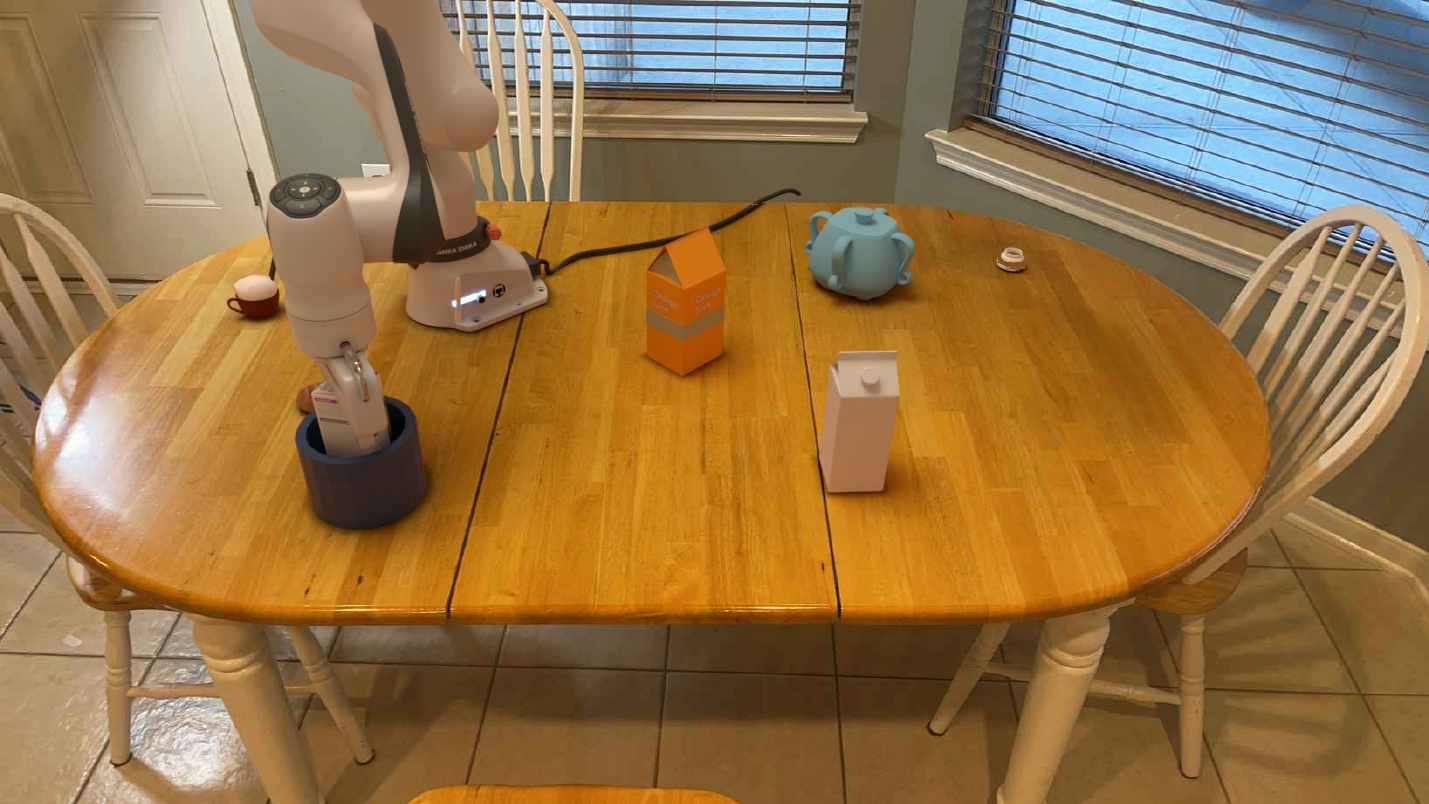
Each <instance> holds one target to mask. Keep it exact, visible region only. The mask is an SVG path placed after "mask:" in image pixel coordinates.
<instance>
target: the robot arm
mask: <svg viewBox="0 0 1429 804" xmlns="http://www.w3.org/2000/svg"><path fill="white" fill-rule="evenodd" d="M249 4H250V8H251V13H252V17H253V20H254V22H255V25H256V27H257V29H258V30H259V32H260V33H261V34H262V36H263V37H264V38H265V39H266V41H268V43H269V44H271V45H272V46H273V47H274V48H275V49H277V50H278V51H279V52H281V53H283V54H284V55H286V56H287V57H288V58H291V59H293V60H295V61H297V62H299V63H301V64H304V65H306V66H307V65H308V66H310V67H312V68H316V69H319V70H321V71H325V72H327V73H330V74H333V75H336V76H339V77H342V78H344V79H347V80H349V81H351V90H352V94H353V96H354V99H355V101H356V102H357V104H358V105H359V106H360V108H361V109H362V110H363V112H364V113H365V115H366V116H367V117H368V119H369V121H370V122H371V124H372V126H373V129H374V131H375V133H376V135H377V139H378V140H379V142H380V145H381V147H382V149H383V151H384V154H385V156H386V159H387V163H388V164H389V166H390V169H391V171H390V172H389V173H388V174H386V175H380V176H355V177H338V176H336V177H335V176H334V177H331V176H330V175H326V174H322V173H315V172H307V173H306V172H305V173H299V174H294V175H291V176H288V177H286V178H284V179H282V180H280V181H278V182H277V183H275V185H274V186H273V187H271V188H270V190H269V192H268V195H267V202H266V206H267V207H266V208H267V210H266V219H265V222H266V223H265V224H266V226H265V227H266V233H267V237H268V240H269V245H270V249H271V254H272V257H273V259H274V263H275V267H276V275H277V276H278V278H279V279H280V281H281V282H282V284H283V287H284V308H285V311H286V315H287V316H286V317H287V321H288V325H289V329H290V332H291V337H292V341H293V345H294V346H295V348H296V349H297V350H298V352H300V353H303V354H305V355H307V356H309V357H310V358H311V359H312V360H313V362H314V364H315V366H316V367H317V369H318V371H319V373H320V375H321V377H322V379H323V380H324V379H325V380H326V381H327V383H328V384H329V386H330V388H331V389H332V391H333V393H334V396H335V399H336V402H337V404H338V406H339V407H340V409H341V411H342V413H343V415H344V416H345V418H346V420H347V422H348V424H349V426H350V427H351V429H352V431H353V433H354V435H355V437H356V442H357V443H358V445H359V447H360V448H361V449H366V448H369V447H372V446H374V445H375V439H374V434H376V433H379V432H382V431H384V430H386V428H387V424H388V422H387V416H386V412H385V407H384V403H383V399H382V395H381V391H380V387H379V383H378V380H377V377H376V375H375V372H376V371H375V370H374V368H373V367H372V365H371V363H370V362H369V359H368V358H367V356H366V355H365V353H366V352H367V350H368V348H369V345H370V344H372V342H373V341H374V340H375V339H376V337H377V334H378V328H377V323H376V317H375V312H374V307H373V300H372V296H371V291H370V287H369V286H368V284H367V283H366V281H365V279H364V265H365V264H382V263H393V264H405V265H407V271H408V272H407V273H408V274H407V275H408V281H407V282H408V283H407V297H406V302H405V312H406V314H407V315H408V317H410V318H411V319H412V320H414V321H415V322H417V323H419V324H422V325H426V326H429V327H435V328H449V329H456V330H459V331H464V332H468V333H471V332H476V331H479V330H480V329H484V328H486V327H488V326H491V325H493V324H496V323H499V322H501V321H503V320H506V319H508V318H512V317H513V316H516V315H519V314H521V313H523V312H524V313H525V312H527V311H529V310H532V309H534V308H537V307H538V306H541V305H544V304H546V303H547V302H548V299H549V292H548V287H547V285H546V284H545V282H544V281H543V279H542V278H540V276H541V275H542V265H544V267H543V272H544V273H545V274H546V275H549V276H551V275H553V274H555V273H557V272H558V271H559V270H561V269H563V268H565V267H566V266H567V265H569V264H570V263H571V262H573V261H575V260H577V259H580V258H584V257H588V256H594V255H599V254H609V253H616V252H622V251H629V250H635V249H642V248H647V247H652V246H658V245H662V244H668V243H670V242H673V241H675V240H677V239H679V238H682V237H684V236H686V235H689V234H691V233H693V232H695V231H698V230H700V229H701V228H699V229H696V230H692V231H689V232H686V233H682V234H679V235H674V236H670V237H669V236H668V237H664V238H659V239H655V240H654V239H653V240H648V241H644V242H638V243H637V242H636V243H631V244H623V245H617V246H610V247H604V248H603V247H602V248H595V249H588V250H583V251H579V252H576V253H573V254H571V255H569V256H568V257H567V258H565V260H563V261H562V262H561V263H560V264H559V265H558V266H556V267H555V268H553V269H551V268H550V266H551V264H550V261H549V260H547V259H545V258H536V257H534V256H533V255H531V254H530V253H528V251H526V250H522V251H520V252H519V251H518V250H517V249H516V248H515V247H513V246H512V245H511V244H508V243H506V242H504V241H501V238H502V236H503V232H502V230H501V228H499V227H498V226H497V225H495V224H493V223H492V224H491V223H490V221H489V220H488V219H487V218H485V217H483V216H482V215H481V214H479V213H478V211H477V201H476V193H475V184H474V177H473V175H472V171H471V169H470V167H469V165H468V164H467V162H466V161H465V160H464V159H463V158H462V156H461V154H460V153H474V152H477V151H480V150H481V149H483V148H484V147H486V146H487V145H488V144H489V143H490V142H491V140H492V139H493V138H494V136H495V134H496V131H497V128H498V126H499V121H500V108H499V103H498V101H497V98H496V96H495V94H494V93H493V91H492V90H491V89H489V87H488V86H487V85H486V84H485V83H484V82H483V81H482V80H481V79H480V77H479V76H478V74H477V73H476V72H475V70H474V69H473V68H472V66H471V65H470V62H468V60H467V57H466V56H465V54H464V52H463V51H462V49H461V47H460V46H459V44H458V42H457V40H456V38H455V37H454V35H453V33H452V30H451V29H450V27H449V26H448V23H447V22H446V19H445V18H444V15H443V13H442V10H441V8H440V6H439V5H440V4H439V3H438V0H249ZM785 194H794V195H796V196H798V197H800V196H802V192H801V191H799V190H798V189H796V188H792V187H791V188H790V187H789V188H783V189H780V190H777V191H775V192H773V193H771V194H769V195H766V196H762V197H760V198H759V199H757V200H756V201H754V202H752V204H759V205H761V204H763V203H765V202H767V201H770V200H772V199H774V198H777V197H779V196H782V195H785ZM759 205H753V206H752V205H751V204H749V205H748V206H747V207H745V208H743V209H742V210H740V211H737V212H736V213H735V214H733V215H732V214H731V215H730V216H729V217H727V218H724V219H722V220H720V221H718V222H715V223H713V224H710V225H707V226H708V228H709V230H710V232H711V231H713V230H715V229H718V228H721V227H723V226H725V225H727V224H729V223H731V222H733V221H735V220H736V219H739V218H740V217H742V216H744V215H746V214H747V213H749V212H751V211H752V210H754V209H756V207H758V206H759ZM749 207H750V208H749Z"/></svg>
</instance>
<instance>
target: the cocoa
mask: <svg viewBox="0 0 1429 804" xmlns="http://www.w3.org/2000/svg"><path fill="white" fill-rule="evenodd" d="M268 272H269V273H268V275H260V274H251V275H248V276H246V277H243V278H241V279H239V280H237V281H235V282H234V284H233V289H234V292H235V294H234V296H235V297H230V298H228V299H227V301H226V305H227V307H228V308H229V309H230V310H231V311H233V312H235V313H238V314H242V315H246V316H249V317H251V318H256V319H261V318H267V317H269V316H271V315H272V314H274V313H275V312H276V311H277V310H278V308H279V304H280V289H279V288H278V287H279V282H278V281H277V279H276V273H277V271H276V267H275V263H274V259H273V256H272V257H271V262H270V267H269V270H268ZM231 302H237V305H238V307H239V308H240V309H238V308H235V307H233V306H232V305H231Z"/></svg>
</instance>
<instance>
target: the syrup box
mask: <svg viewBox="0 0 1429 804" xmlns="http://www.w3.org/2000/svg"><path fill="white" fill-rule="evenodd" d="M374 372H375V375H376V377H377V380H378V383H379V387H380V391H381V395H382V399H383V403H384V407H385V412H386V416H387V422H388V424H387V428H386V430H384V431H382V432H379V433H376V434H374V439H375V445H374V446H372V447H369V448H366V449H361V448H360V447H359V445H358V443H357V442H356V437H355V435H354V433H353V431H352V429H351V427H350V426H349V424H348V422H347V420H346V418H345V416H344V415H343V413H342V411H341V409H340V407H339V406H338V404H337V402H336V399H335V396H334V393H333V391H332V389H331V388H330V386H329V384H328V383H327V381H326V380H325V379H324V378H323V379H322V380H321V381H322V382H321V381H320V382H321V383H320V384H319V385H318V387H317V388H316V389H315V390H314V391H313V392H312V393H311V396H312V400H313V404H314V407H315V411H316V415H317V419H318V423H319V427H320V430H321V434H322V438H323V442H324V445H325V449H326V453H327V456H331V457H342V458H349V457H357V456H364V455H367V454H370V453H373V452H377V451H379V450H381V449H383V448H385V447H387V446H389V445H390V444H392V443H393V442H394V440H393V435H392V430H391V426H390V421H389V416H388V412H387V407H386V402H385V398H384V396H385V394H384V389H383V388H384V387H383V384H382V379H381V375H380V373H379V372H378V371H374Z"/></svg>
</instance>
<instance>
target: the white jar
mask: <svg viewBox="0 0 1429 804" xmlns="http://www.w3.org/2000/svg"><path fill="white" fill-rule="evenodd" d="M1007 252H1015V253H1017V254H1020V255H1012V254H1009V253H1007ZM1000 255H1001V258H1002V259H1003V260H1004V261H1006V262H1013V263H1014V262H1022V261H1023V260H1025V256H1024V254H1023V251H1022V250H1021V249H1020V248H1017V247H1007V248H1005V249H1004V251H1003V252H1002V253H1001V254H1000ZM996 262H998V258H997V259H996ZM996 265H997V266H998V267H999V268H1000V269H1003V270H1005V271H1009V272H1020V271H1019V270H1018V269H1016V270H1018V271H1016V270H1015V269H1014V270H1013V269H1010V267H1006V266H1004V265H1002V264H1000V263H996ZM1006 268H1007V269H1006ZM1008 268H1009V269H1008ZM1021 268H1023V267H1021ZM1025 268H1026V267H1024V269H1025Z"/></svg>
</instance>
